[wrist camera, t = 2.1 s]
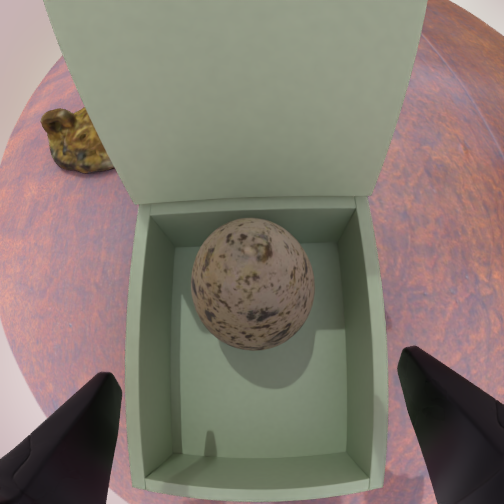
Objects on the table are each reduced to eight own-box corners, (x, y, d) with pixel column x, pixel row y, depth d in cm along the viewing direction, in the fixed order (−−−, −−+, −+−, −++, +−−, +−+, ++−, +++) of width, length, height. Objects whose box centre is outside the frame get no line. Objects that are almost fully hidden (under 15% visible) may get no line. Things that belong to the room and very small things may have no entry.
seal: (183, 108, 27) (72, 117, 29) (175, 70, 23) (58, 88, 24) (151, 176, 23) (34, 176, 25) (134, 135, 19) (12, 147, 20)
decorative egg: (239, 244, 20) (215, 146, 11) (320, 285, 19) (367, 214, 9) (192, 321, 18) (120, 284, 9) (275, 368, 17) (285, 383, 8)
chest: (354, 456, 15) (383, 487, 10) (166, 457, 16) (132, 487, 11) (344, 235, 21) (367, 195, 15) (168, 241, 21) (138, 203, 16)
